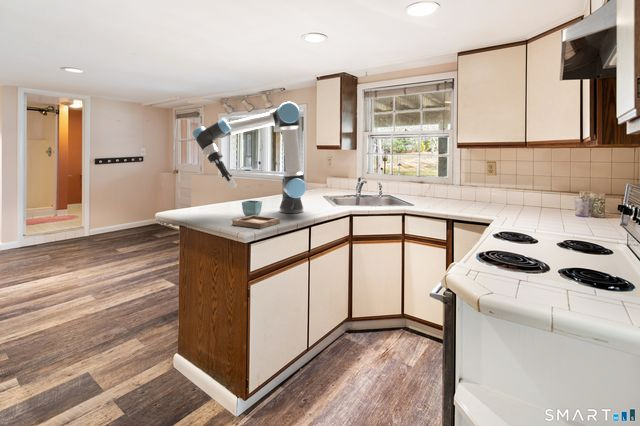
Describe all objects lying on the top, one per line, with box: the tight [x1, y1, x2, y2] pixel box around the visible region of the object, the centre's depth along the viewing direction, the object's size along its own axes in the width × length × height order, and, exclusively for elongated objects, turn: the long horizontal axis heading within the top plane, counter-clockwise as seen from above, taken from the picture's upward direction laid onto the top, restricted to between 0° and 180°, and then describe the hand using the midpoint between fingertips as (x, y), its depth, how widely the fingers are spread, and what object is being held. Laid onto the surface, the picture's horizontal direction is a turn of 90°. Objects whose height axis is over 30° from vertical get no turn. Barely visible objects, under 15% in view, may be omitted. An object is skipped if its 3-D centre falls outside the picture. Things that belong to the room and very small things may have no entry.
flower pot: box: [241, 200, 263, 217], centre depth 200 cm, size 9×9×9 cm
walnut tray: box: [231, 215, 280, 230], centre depth 181 cm, size 17×17×2 cm
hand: (234, 187), depth 195 cm, fingers open, 13 cm apart
